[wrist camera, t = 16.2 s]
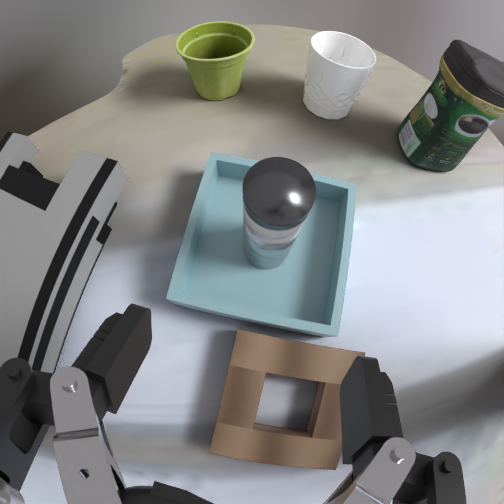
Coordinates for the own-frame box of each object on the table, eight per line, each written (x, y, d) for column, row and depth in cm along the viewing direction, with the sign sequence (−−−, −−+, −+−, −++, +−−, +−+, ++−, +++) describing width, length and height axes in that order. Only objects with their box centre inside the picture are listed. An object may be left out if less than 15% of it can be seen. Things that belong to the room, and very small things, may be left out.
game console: (138, 194, 33) (113, 154, 25) (44, 439, 24) (3, 455, 16) (31, 157, 34) (3, 126, 27) (-46, 352, 26) (-84, 347, 18)
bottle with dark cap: (293, 230, 31) (320, 166, 19) (284, 274, 29) (310, 229, 18) (248, 220, 31) (251, 151, 19) (237, 264, 30) (234, 212, 18)
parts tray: (344, 201, 33) (356, 184, 29) (325, 337, 29) (337, 336, 25) (214, 172, 34) (211, 152, 30) (175, 304, 29) (165, 298, 25)
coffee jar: (442, 133, 37) (504, 53, 20) (456, 177, 35) (535, 100, 17) (389, 121, 37) (445, 23, 19) (402, 168, 35) (478, 68, 17)
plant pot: (242, 115, 36) (242, 64, 28) (174, 105, 37) (162, 57, 28) (259, 72, 39) (262, 25, 31) (198, 64, 39) (192, 19, 31)
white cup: (298, 80, 39) (309, 26, 29) (351, 90, 39) (370, 39, 29) (297, 118, 36) (311, 59, 27) (356, 128, 36) (381, 75, 27)
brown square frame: (355, 352, 28) (365, 352, 26) (329, 461, 25) (335, 469, 22) (238, 330, 29) (237, 329, 26) (211, 444, 25) (209, 452, 23)
